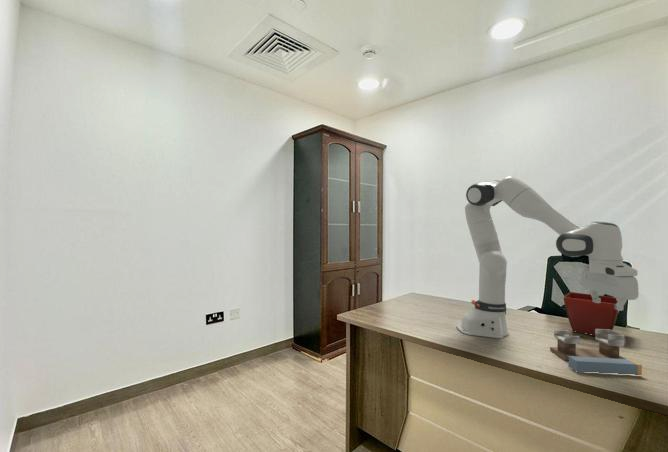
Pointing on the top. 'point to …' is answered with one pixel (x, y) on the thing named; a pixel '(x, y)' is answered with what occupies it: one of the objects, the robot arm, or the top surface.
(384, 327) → the top surface
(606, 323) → the plant pot
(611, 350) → the stand
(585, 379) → the top surface
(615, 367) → the rail
